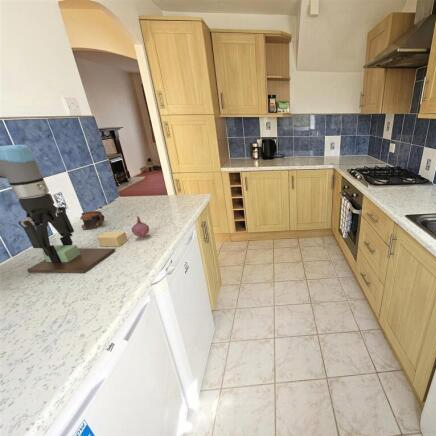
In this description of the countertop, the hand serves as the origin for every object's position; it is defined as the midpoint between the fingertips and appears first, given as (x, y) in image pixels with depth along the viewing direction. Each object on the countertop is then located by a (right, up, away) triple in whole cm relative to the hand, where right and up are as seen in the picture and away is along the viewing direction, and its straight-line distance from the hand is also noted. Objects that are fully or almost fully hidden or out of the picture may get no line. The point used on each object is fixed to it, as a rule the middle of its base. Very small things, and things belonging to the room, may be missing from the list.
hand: (64, 257), depth 86 cm
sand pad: (+9, +4, +12) cm, 16 cm away
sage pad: (0, 0, 0) cm, 0 cm away
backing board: (+3, -1, 0) cm, 4 cm away
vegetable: (+18, +6, +16) cm, 25 cm away
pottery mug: (-12, +10, +29) cm, 33 cm away
